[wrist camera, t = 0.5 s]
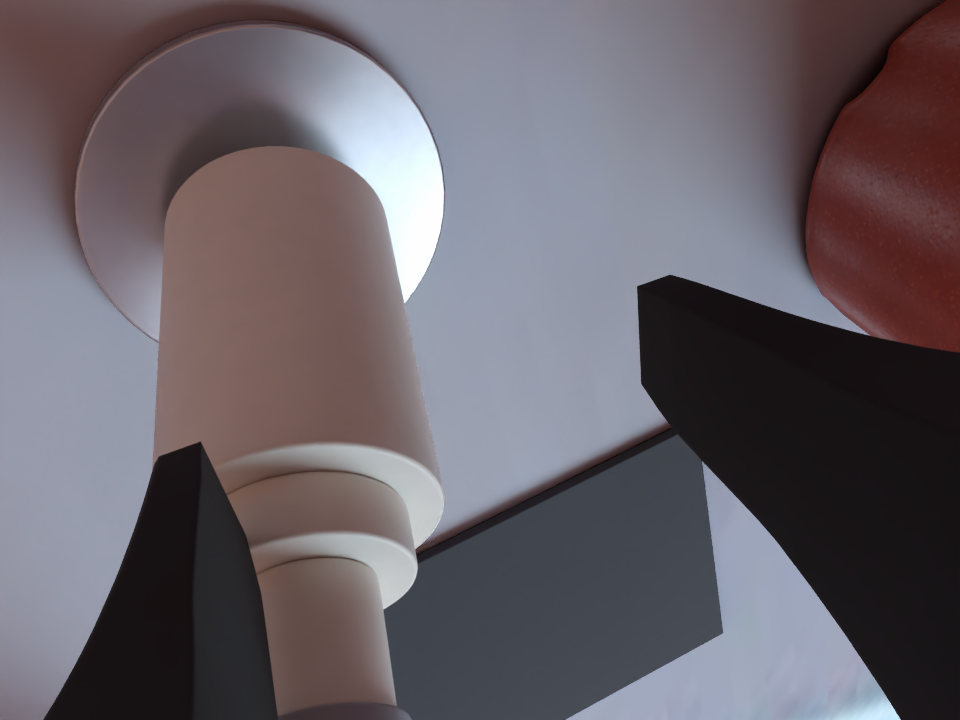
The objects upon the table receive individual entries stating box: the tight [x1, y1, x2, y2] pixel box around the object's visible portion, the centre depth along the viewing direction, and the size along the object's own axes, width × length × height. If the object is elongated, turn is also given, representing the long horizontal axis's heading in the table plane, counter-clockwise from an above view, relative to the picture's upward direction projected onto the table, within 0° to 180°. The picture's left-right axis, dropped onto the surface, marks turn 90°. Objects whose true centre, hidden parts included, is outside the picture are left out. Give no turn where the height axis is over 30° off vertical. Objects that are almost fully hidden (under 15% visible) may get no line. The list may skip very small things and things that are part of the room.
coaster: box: [74, 20, 445, 343], centre depth 21 cm, size 9×9×1 cm
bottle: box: [153, 146, 445, 720], centre depth 16 cm, size 5×5×13 cm
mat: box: [383, 428, 723, 720], centre depth 34 cm, size 20×14×1 cm
